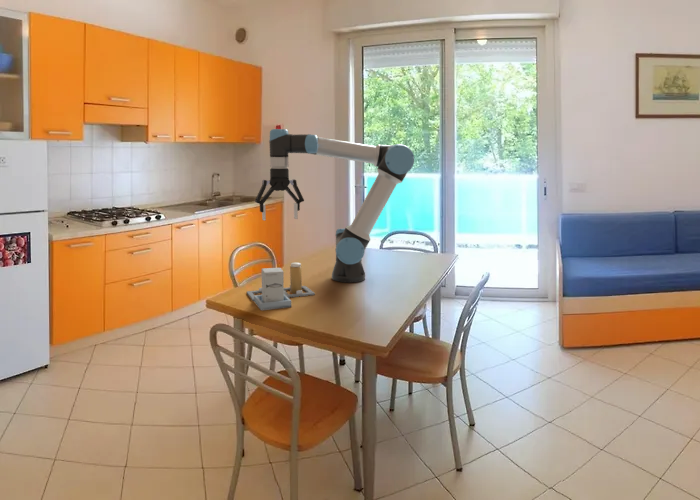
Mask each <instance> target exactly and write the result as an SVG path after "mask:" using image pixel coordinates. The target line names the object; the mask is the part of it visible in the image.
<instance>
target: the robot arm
mask: <svg viewBox="0 0 700 500" xmlns="http://www.w3.org/2000/svg"><path fill="white" fill-rule="evenodd" d="M268 142H269V166H270V169H269V180H267V179H263V180H262V184H261V187H260V189H259V191H258V193H257V195H256V198H255V200H254V203H257V204H259V212H260V213H261V215H262V216H261V217H262V221H266V219H267V218H266V214H267V212H266V204H265V203H266V201H267V200H268V198H270V196H271V195H272V194H273V192H274V191H276V192H279V191H286V192H287V194H288V195H289V196H290V197H291V198H292V200H293V201H294V203H293V218H294V219H295V220H298V213H299V212H300V209H301V207H300V206H301V203H303V202H304V201H305V199H304V197H303V194H302V193H301V191H300V188H299V186H298V184H297V183H298V182H297V180H296V179H294V178H293V179H289V176H290V175H289V172H290V171H289V170H290V169H289V168H288V167H289V165H290V164H289V154H307V155H308V154H309V155H314V156H315V155H316V156H321V157H322V156H323V157H328V158H329V157H330V158H334V159H341V160H348V161H354V162H358V163H359V162H361V163H364V164H365V163H366V164H372V165H373V166H374V167H377V173H378V174H377V177H376V178H375V179H374V182H373V183H372V185H371V187H370V190H369V191H368V192H367V195H366V197H365V198H364V200H363V203H362V204H361V206H360V208H359V210H358V211H357V214H356V215H355V217H354V219H353V221H352V222H351V223H350V225H347V226H346V227H345V228H337V229H336V231H335V263H334V266H333V268H332V273H331V279H332V280H333V281H335V282H338V283H339V282H340V283H359V282H362V281H365V279H366V272H365V269H364V265H363V263H362V259H363V258H364V256H365V251H366V248H367V247H368V245H369V243H370V242H371V236H370V233H371V232H372V230H373V228H374V227H375V225H376V223H377V221H378V219H379V217H380V215H381V213H383V210H384V208H385V207H386V206H387V202H388V201H389V199H390V197H391V195H392V193H393V192H394V190H395V188H396V186H397V185H398V184H401V183H403V181H404V180H405V178H406V176H407V174H408V172H410V171H411V170H412V168H413V166H414V164H415V156H414V155H415V154H414V153H413V150H412V149H411V148H410V147H408V146H407V145H405V144H403V143H395V144H390V145H389V144H379V143H378V144H377V145H370V144H364V143H356V142H352V141H346V140H345V141H344V140H338V139H333V138H332V139H331V138H327V137H326V138H325V137H319V136H317V134H309V133H308V134H293V133H292V134H290V133H289V131H288V129H286V128H282V129H281V128H272V129H270V131H269V141H268ZM268 185H270V186H271V187H269V188H268V190H267V192H266V193H265V194H264V192H265V190H266V188H267V186H268ZM289 185H291V186H292V187H293V189H294V192H295V194H296V195H297V196H296V195H295V194H294V192H293V191H292V190H291V188H290V187H289ZM298 211H299V212H298Z"/></svg>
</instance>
